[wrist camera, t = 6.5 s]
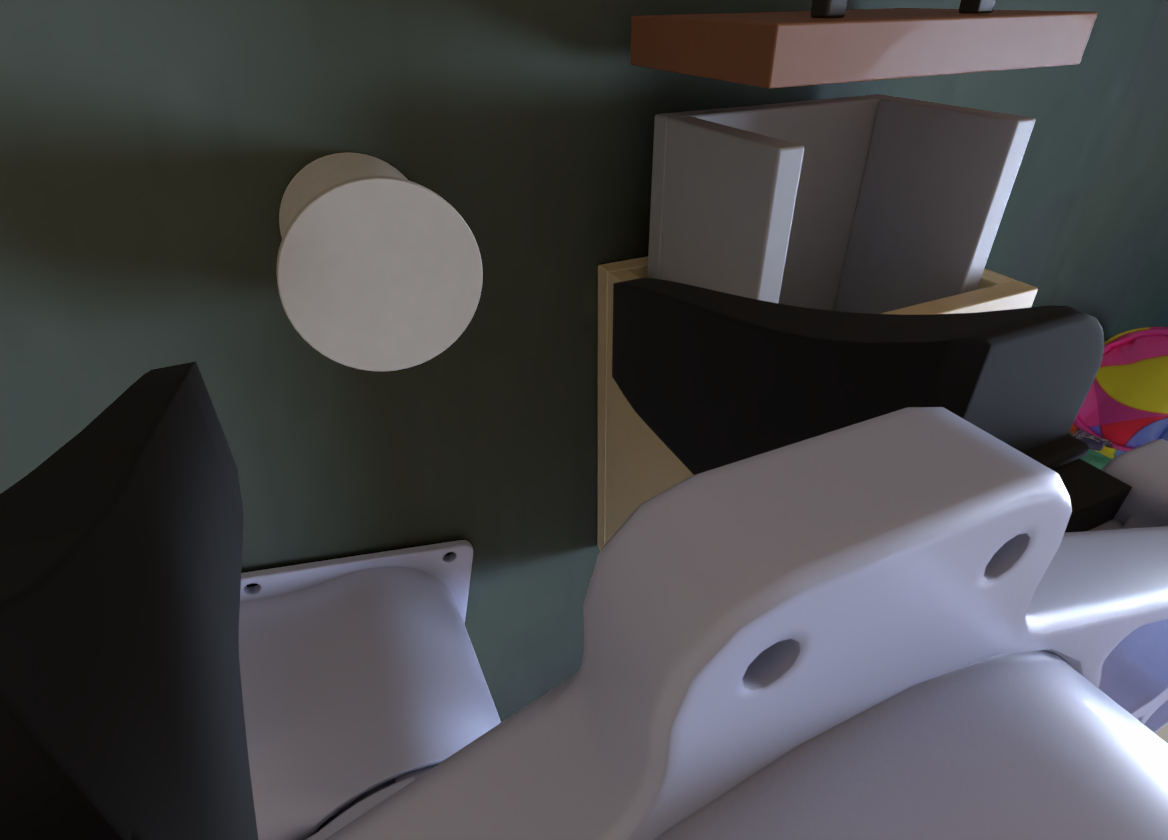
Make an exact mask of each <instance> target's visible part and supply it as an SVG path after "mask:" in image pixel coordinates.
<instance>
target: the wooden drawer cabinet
mask: <svg viewBox="0 0 1168 840" xmlns="http://www.w3.org/2000/svg"><path fill="white" fill-rule="evenodd" d="M647 274H648V256H647V257H642V258H636V259H630V260H624V261H619V262H613V263H607V264H602V265H598V538H597V546H598V548H599V549H600V551H601V550H602V548H603V547H604V546H605V544H606V543H607V542H608V541H609V540H610V539H611V538H612V536H613V535H614V534H615V533H616V532H617V531H618V530H619V528H620V527H621V526H622V525H623V524H624V523H625V522H626V520H627V519H628V518H629V517H630V516H631V515H632V514H633V512H634V511H635V510H636V509H637V508H638V507H639V506H640V504H642V503H644V502H645V501H647V500H649V499H651V498H653V497H655V496H656V495H658V494H660V493H662V492H664V491H665V490H667V489H669V488H671V487H673V486H674V485H676V484H678V483H680V482H682V481H684V480H685V479H687V478H689V477H691V476H694V475H693V474H692V473H691V472H690V470H689V469H688V468H687V467H686V466H685V465H684V464H683V463H682V462H681V461H680V460H679V459H678V458H677V457H676V456H675V454H674V453H673V452H672V451H671V450H670V449H669V448H668V447H667V446H666V445H665V444H664V443H663V442H662V441H661V440H660V439H659V437H658V436H657V435H656V434H655V433H654V432H653V431H652V430H651V429H650V428H649V427H648V425H647V424H646V423H645V422H644V421H643V420H642V419H641V418H640V417H639V415H638V414H637V413H636V412H635V411H634V409H633V408H632V406H631V405H630V403H629V402H628V401H627V399H626V398H625V396H624V395H623V393H622V392H621V390H620V388H619V387H618V385H617V384H616V382H615V380H614V379H613V377H612V342H613V283H617V282H623V281H628V280H633V279H639V278H647ZM1037 291H1038V288H1036V287H1034V286H1031V285H1028V284H1025V283H1023V282H1020V281H1017V280H1014V279H1012V278H1009V277H1006V276H1004V275H1001V274H998V273H995V272H993V271H990V270H987V269H984V270H983V273H982V276H981V279H980V282H979V285H978V287H977V290H974V291H970V292H966V293H962V294H958V295H954V296H950V297H946V298H942V299H938V300H934V301H929V302H925V303H921V304H917V305H913V306H909V307H905V308H901V309H897V310H893V311H889V312H885V313H880V314H899V315H925V314H956V313H977V312H989V311H999V310H1010V309H1020V308H1031V306H1032V303H1033V301H1034V298H1035V296H1036V293H1037Z"/></svg>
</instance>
